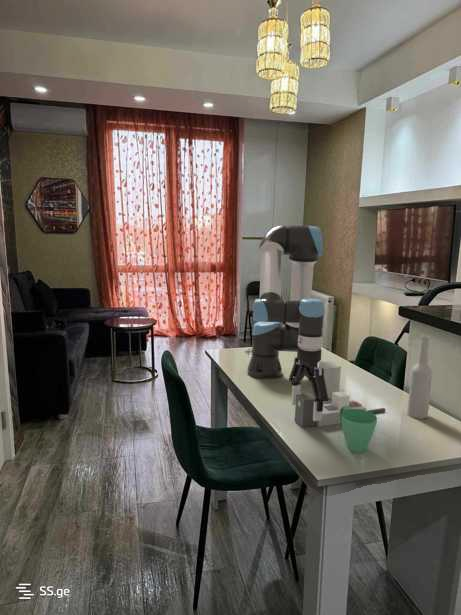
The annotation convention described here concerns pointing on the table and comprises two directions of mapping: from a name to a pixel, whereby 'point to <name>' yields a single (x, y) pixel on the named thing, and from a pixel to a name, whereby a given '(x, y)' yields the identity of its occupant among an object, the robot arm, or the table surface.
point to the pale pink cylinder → (331, 376)
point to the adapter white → (340, 399)
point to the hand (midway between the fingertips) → (305, 411)
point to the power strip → (339, 413)
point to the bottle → (420, 383)
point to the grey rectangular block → (304, 410)
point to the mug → (357, 428)
